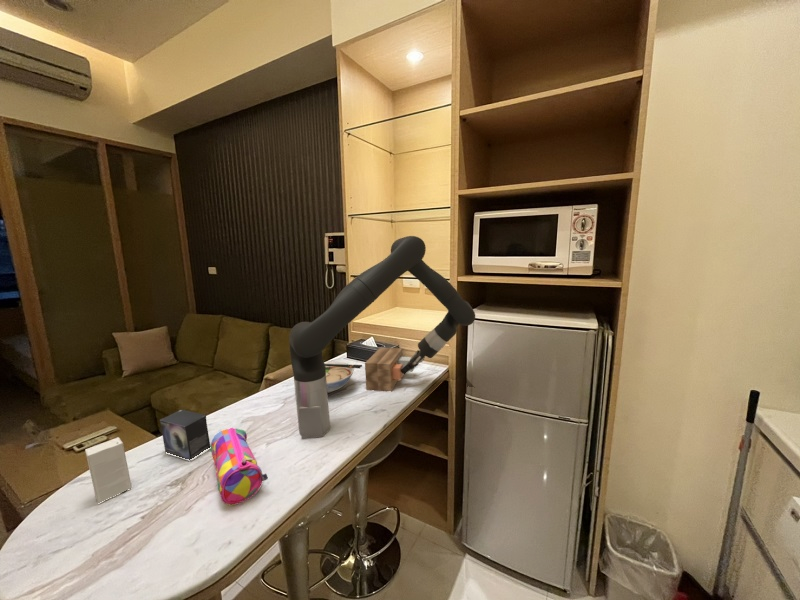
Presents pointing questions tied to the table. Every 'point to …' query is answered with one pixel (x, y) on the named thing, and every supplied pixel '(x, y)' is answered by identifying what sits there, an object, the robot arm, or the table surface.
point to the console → (381, 369)
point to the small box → (185, 434)
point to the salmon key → (397, 371)
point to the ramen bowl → (338, 374)
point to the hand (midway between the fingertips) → (402, 372)
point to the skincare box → (108, 469)
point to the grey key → (404, 361)
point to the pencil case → (235, 466)
